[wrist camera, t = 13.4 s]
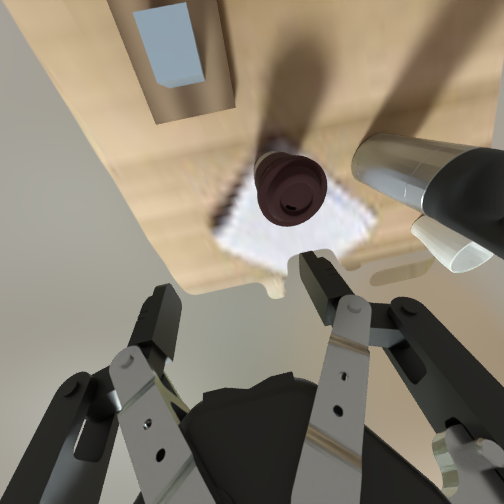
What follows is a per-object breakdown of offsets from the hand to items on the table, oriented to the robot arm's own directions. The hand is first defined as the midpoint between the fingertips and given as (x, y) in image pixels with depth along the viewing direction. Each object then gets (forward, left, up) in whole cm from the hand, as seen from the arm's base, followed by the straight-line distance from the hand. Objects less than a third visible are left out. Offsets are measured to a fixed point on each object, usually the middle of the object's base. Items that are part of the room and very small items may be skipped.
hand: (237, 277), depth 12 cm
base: (+2, -14, -30) cm, 33 cm away
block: (+2, -14, -27) cm, 31 cm away
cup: (-48, +25, -30) cm, 62 cm away
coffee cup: (-9, +3, -30) cm, 32 cm away
